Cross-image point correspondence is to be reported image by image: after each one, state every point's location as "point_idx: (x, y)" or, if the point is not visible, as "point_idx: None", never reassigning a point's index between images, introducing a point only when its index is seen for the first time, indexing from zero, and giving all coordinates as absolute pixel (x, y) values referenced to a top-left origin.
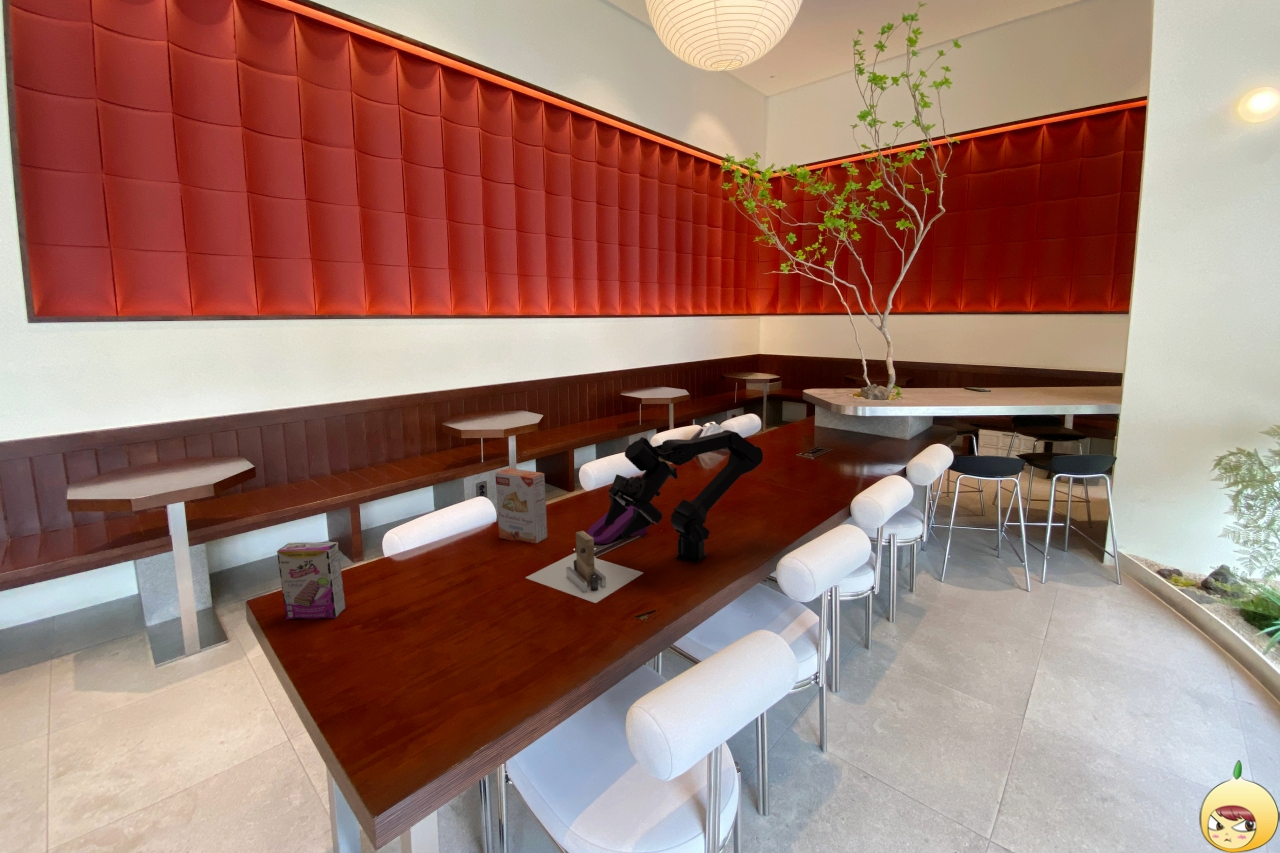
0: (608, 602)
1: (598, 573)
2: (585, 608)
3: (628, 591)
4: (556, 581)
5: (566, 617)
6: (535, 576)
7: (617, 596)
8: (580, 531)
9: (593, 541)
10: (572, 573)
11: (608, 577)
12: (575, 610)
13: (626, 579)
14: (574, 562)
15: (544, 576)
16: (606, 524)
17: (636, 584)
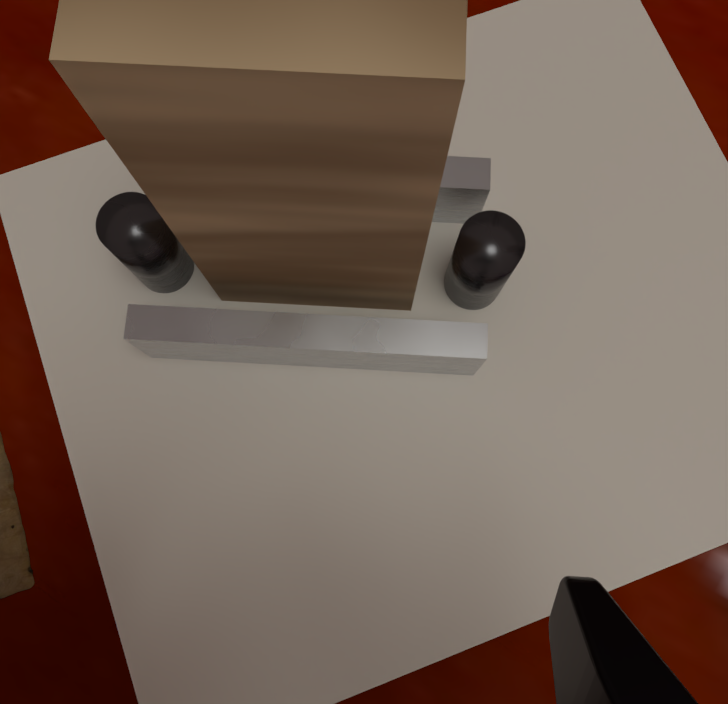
0: (2, 289)
1: (219, 321)
2: (38, 134)
3: (39, 494)
4: None
5: (23, 3)
6: (601, 25)
7: (30, 384)
8: (453, 32)
9: (73, 88)
10: None
11: (270, 453)
12: (58, 77)
13: (146, 560)
14: (481, 212)
15: (568, 74)
16: (557, 616)
17: (91, 616)
